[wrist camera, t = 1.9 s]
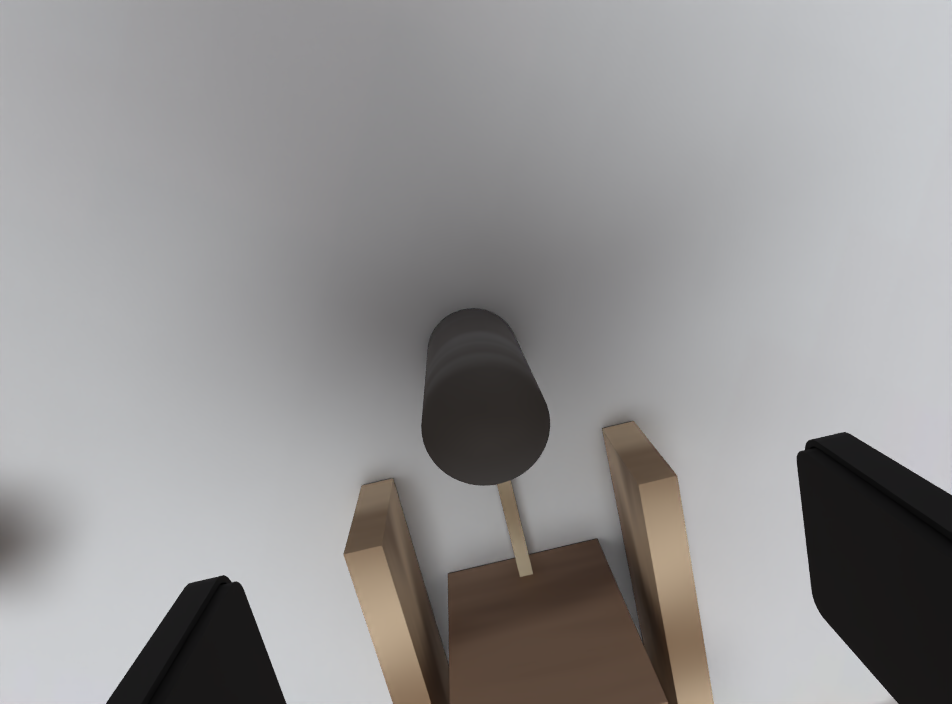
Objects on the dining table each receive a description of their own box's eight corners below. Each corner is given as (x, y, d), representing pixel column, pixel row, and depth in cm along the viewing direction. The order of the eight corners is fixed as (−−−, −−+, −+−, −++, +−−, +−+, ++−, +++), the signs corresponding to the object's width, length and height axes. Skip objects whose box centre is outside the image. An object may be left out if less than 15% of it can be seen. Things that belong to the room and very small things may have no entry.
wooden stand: (361, 485, 24) (306, 697, 14) (633, 420, 23) (767, 589, 14) (439, 734, 27) (438, 1047, 17) (679, 679, 27) (814, 961, 17)
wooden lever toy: (378, 329, 22) (344, 410, 14) (546, 289, 22) (602, 348, 14) (482, 695, 26) (499, 908, 19) (622, 662, 26) (697, 862, 19)
